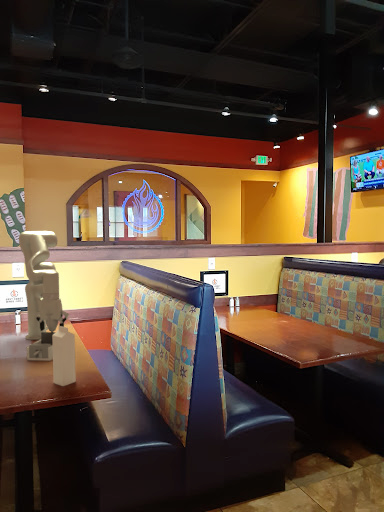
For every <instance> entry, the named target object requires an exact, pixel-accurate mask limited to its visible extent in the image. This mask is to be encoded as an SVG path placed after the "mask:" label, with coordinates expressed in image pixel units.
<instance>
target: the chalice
mask: <svg viewBox="0 0 384 512" xmlns="http://www.w3.org/2000/svg"><path fill="white" fill-rule="evenodd" d="M46 315H47V320H46V327H48V332H56V331H57V330H56V329H57V328H58V326H59V320H52V319H51V316H52V315H53V314H46Z"/></svg>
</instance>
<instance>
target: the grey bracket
mask: <svg viewBox="0 0 384 512" xmlns="http://www.w3.org/2000/svg"><path fill="white" fill-rule="evenodd" d="M39 350H42V351H41V352H40V353H38V354H36V355H33V354H34V353H35V352H37V351H39ZM26 360H27V361H48V362H49V361H53V345H51V344H41V339H39V340H36V341H35V342H33V343H30V344H29V345H28V346H27V347H26Z"/></svg>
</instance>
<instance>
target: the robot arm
mask: <svg viewBox="0 0 384 512" xmlns="http://www.w3.org/2000/svg"><path fill="white" fill-rule="evenodd" d="M18 244H19V247H20V249H21V252H22V253H23V256H24V265H25V272H26V273H25V275H26V277H27V278H28V281H29V282H28V283H26V285H25V287H24V291H25V296H26V304H27V308H26V309H27V334H26V335H25V339H26V340H28V341H35V340H36V341H38V340H40V339H41V333H42V332H47V331H49V329H48V327H47V325H46V320H47V315H46V314H53V315H52V316H51V319H52V320H58V327H59V326H62V327H65V322H67V320H68V318H69V316H70V314H69V313H67V312H66V311H64V310H63V304H62V300H61V298H60V275H59V272H58V271H57V269H56V266H55V264H54V262H51V261H50V262H49V261H47V260H48V259H50V255H51V254H50V250H49V248H55V247H56V246H57V245H58V236H57V234H56V233H55V232H54V231H48V230H31V231H30V230H27V231H23V232H20V233H19V235H18ZM45 261H46V262H45ZM63 316H64V317H63Z"/></svg>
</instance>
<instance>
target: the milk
mask: <svg viewBox="0 0 384 512" xmlns="http://www.w3.org/2000/svg"><path fill="white" fill-rule="evenodd" d="M55 332H56V333H54V334H53V335H52V341H53V359H52V373H53V374H52V375H53V384H55V385H57V386H61V387H65V386H68V385H70V384H73V383H76V380H77V379H76V377H77V376H76V347H75V345H76V343H75V337H76V336H75V334H74V333H71V332H70V331H69V328H68V327H65V326H64V327H62V326H59V325H58V330H56V331H55Z"/></svg>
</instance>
